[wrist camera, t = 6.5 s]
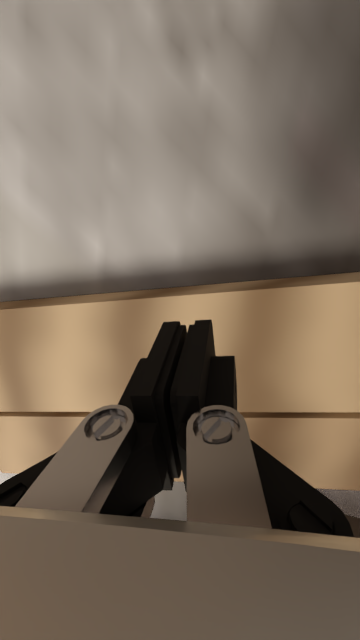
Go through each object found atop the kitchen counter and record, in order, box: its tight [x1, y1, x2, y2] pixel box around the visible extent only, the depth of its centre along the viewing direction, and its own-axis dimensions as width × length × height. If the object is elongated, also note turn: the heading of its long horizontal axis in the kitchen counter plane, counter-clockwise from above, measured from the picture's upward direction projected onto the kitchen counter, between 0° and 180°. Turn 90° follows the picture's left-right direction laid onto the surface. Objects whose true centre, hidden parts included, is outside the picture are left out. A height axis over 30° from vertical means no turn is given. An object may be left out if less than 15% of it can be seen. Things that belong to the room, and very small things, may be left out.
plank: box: [0, 272, 360, 412], centre depth 17 cm, size 24×7×1 cm, turn 99°
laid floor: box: [0, 412, 360, 491], centre depth 20 cm, size 26×6×1 cm, turn 99°
